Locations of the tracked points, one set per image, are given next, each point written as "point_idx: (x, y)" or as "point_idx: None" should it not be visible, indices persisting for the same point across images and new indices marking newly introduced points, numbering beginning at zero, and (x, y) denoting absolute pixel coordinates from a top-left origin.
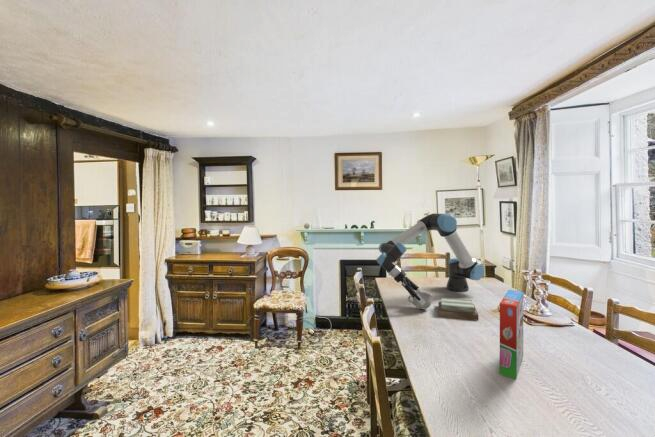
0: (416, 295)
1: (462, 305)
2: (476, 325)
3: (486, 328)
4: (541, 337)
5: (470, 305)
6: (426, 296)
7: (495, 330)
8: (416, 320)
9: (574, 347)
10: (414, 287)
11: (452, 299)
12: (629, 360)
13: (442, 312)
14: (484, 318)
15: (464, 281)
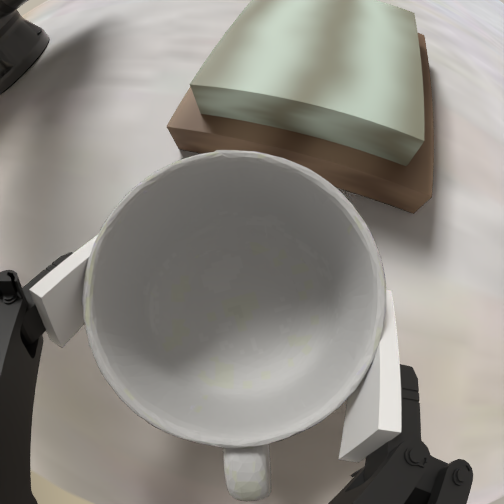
0: (421, 444)
1: (388, 30)
2: (476, 92)
3: (488, 80)
4: (478, 18)
5: (376, 6)
6: (162, 213)
7: (490, 68)
8: (475, 400)
9: (495, 15)
10: (19, 363)
11: (250, 31)
12: (500, 4)
13: (430, 177)
14: None
15: (25, 21)
